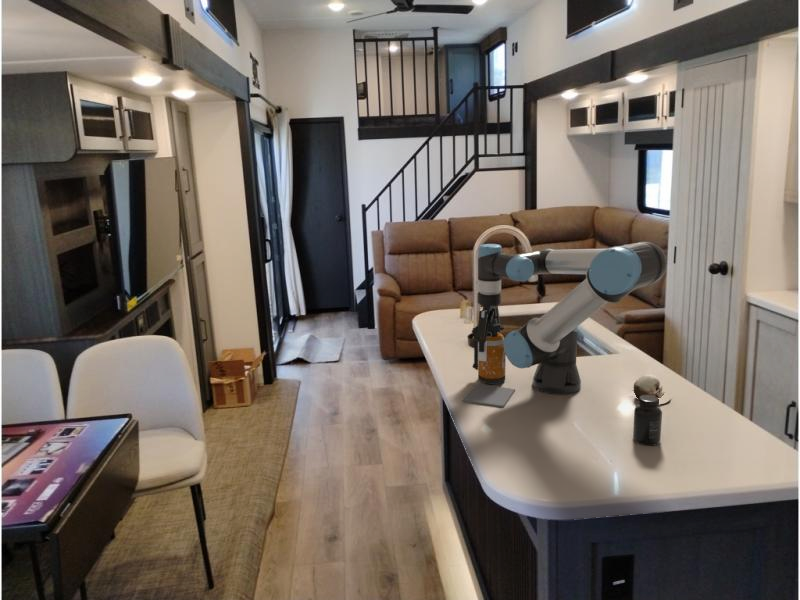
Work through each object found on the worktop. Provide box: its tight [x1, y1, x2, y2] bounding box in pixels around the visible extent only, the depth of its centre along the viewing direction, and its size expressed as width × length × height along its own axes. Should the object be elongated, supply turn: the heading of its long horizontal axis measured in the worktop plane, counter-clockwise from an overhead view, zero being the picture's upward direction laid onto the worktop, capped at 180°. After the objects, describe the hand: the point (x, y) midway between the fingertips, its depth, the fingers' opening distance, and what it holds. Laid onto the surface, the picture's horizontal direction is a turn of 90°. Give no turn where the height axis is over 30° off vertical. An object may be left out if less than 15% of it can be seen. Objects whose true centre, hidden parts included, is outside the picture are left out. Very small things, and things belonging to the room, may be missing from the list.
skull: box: [632, 374, 665, 399], centre depth 193 cm, size 12×10×10 cm
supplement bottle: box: [632, 395, 663, 446], centre depth 165 cm, size 7×7×12 cm
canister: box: [471, 322, 507, 385], centre depth 209 cm, size 9×11×20 cm
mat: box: [462, 383, 516, 408], centre depth 198 cm, size 13×14×1 cm
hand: (488, 354), depth 209 cm, fingers open, 13 cm apart
